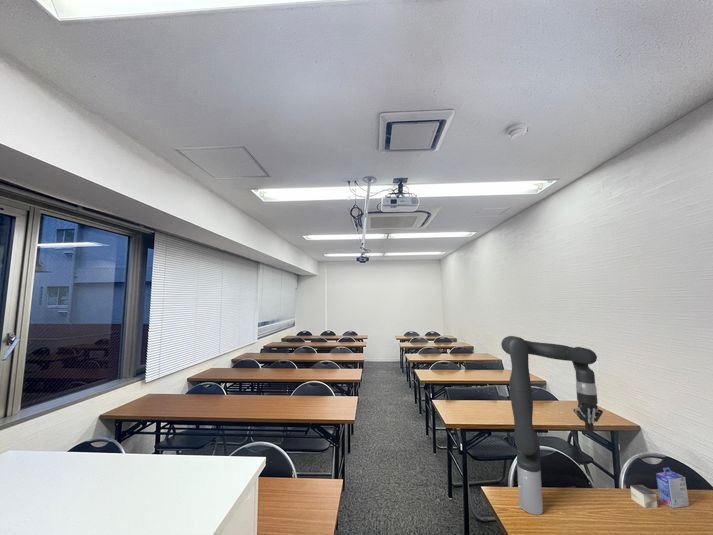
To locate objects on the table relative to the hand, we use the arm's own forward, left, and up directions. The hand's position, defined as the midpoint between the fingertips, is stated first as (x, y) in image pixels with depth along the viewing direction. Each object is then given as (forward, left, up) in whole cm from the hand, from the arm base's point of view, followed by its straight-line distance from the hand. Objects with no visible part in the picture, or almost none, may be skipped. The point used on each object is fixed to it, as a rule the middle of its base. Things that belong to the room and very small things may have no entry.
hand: (589, 431), depth 134 cm
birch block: (+21, +15, -27) cm, 37 cm away
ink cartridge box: (+33, +21, -33) cm, 51 cm away
